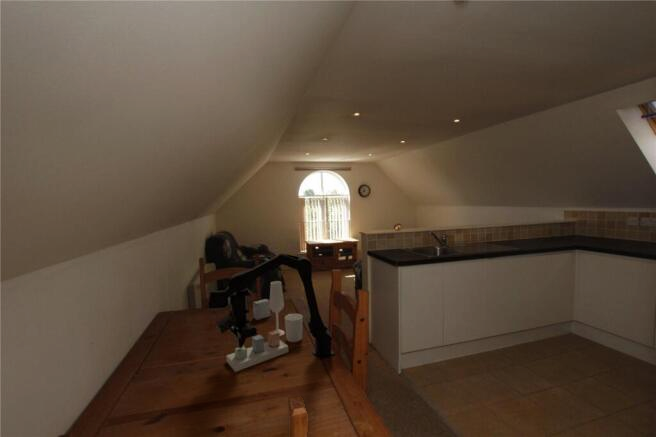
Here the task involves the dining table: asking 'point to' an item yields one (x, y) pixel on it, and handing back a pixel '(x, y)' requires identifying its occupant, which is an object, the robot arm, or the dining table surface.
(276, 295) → the champagne flute
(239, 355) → the pale green block
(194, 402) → the dining table surface
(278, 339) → the terracotta button
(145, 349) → the dining table surface
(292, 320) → the white cup
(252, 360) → the button board
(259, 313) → the medicine box
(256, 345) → the grey rectangular block
